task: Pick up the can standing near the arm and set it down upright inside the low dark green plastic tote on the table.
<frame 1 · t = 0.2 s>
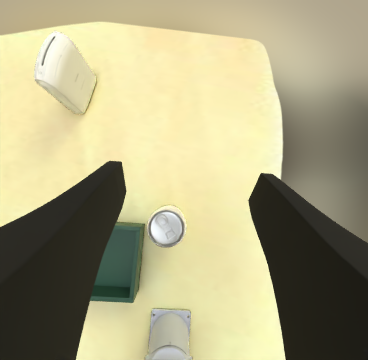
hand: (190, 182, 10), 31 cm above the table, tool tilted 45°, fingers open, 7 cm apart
can: (169, 219, 39), on the table
tote: (109, 254, 38), on the table
photo printer: (84, 95, 42), on the table
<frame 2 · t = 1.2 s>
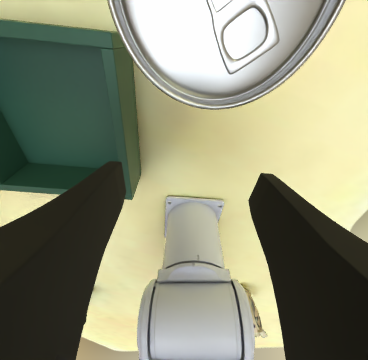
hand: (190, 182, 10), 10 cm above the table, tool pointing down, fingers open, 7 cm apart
can: (199, 20, 14), on the table
tote: (68, 113, 18), on the table
pencil case: (210, 292, 46), on the table
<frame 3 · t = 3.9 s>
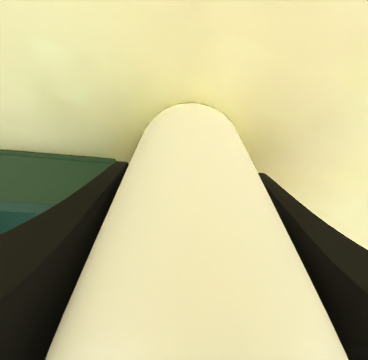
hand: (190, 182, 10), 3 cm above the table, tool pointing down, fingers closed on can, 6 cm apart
can: (189, 148, 12), on the table, touching gripper
tote: (53, 213, 17), on the table
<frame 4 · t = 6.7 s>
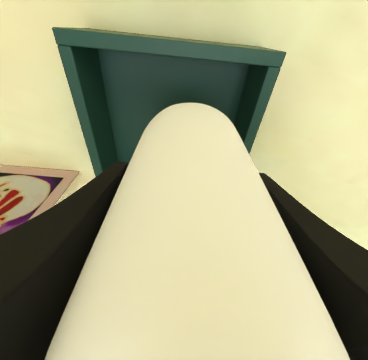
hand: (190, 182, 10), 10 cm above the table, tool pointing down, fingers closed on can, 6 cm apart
can: (189, 148, 12), point 7 cm above the table, touching gripper
tote: (172, 123, 18), on the table
greeting card: (42, 183, 24), on the table
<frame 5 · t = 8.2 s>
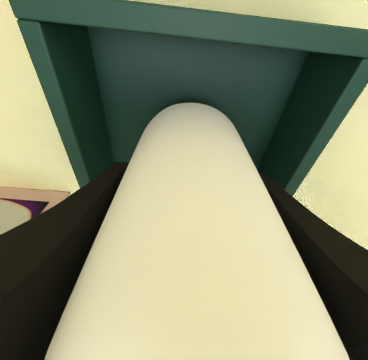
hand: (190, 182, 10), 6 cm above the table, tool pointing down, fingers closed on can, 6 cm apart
can: (189, 148, 12), point 2 cm above the table, touching gripper
tote: (189, 135, 14), on the table
greeting card: (25, 205, 20), on the table
when the fingers open (4 cm above the table, at t = 9.4 s): can stays where it is, resting on tote.
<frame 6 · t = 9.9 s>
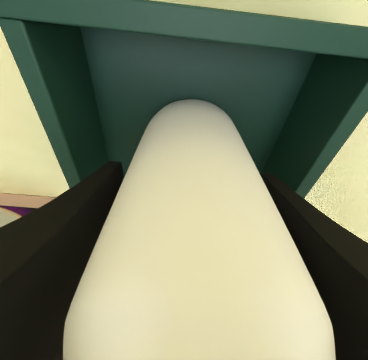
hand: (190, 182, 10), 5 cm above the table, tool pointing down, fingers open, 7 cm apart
can: (190, 143, 13), resting on tote
tote: (189, 140, 13), on the table
greeting card: (19, 211, 19), on the table
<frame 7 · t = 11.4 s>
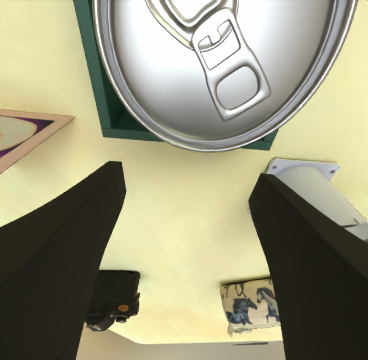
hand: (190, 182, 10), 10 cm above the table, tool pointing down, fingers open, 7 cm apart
can: (197, 36, 13), resting on tote
tote: (196, 36, 14), on the table
greeting card: (30, 136, 20), on the table
pencil case: (266, 279, 42), on the table
film camera: (113, 277, 43), on the table
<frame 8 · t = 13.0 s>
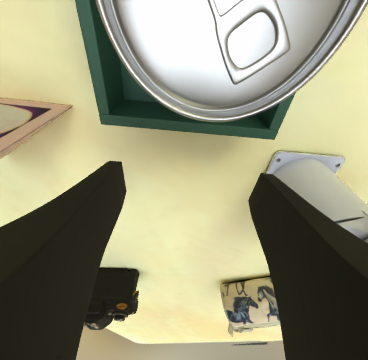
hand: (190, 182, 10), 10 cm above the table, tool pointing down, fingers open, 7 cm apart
can: (200, 18, 13), resting on tote
tote: (199, 18, 13), on the table
greeting card: (25, 126, 19), on the table
pencil case: (266, 278, 42), on the table
film camera: (111, 275, 42), on the table
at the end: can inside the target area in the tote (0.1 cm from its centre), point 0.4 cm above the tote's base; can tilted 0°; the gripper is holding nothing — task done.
